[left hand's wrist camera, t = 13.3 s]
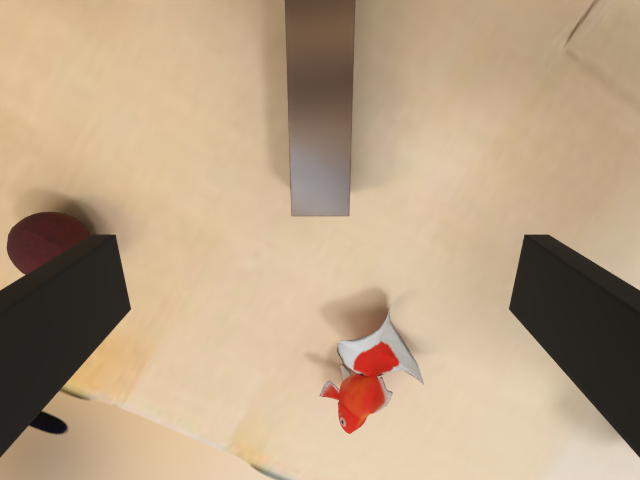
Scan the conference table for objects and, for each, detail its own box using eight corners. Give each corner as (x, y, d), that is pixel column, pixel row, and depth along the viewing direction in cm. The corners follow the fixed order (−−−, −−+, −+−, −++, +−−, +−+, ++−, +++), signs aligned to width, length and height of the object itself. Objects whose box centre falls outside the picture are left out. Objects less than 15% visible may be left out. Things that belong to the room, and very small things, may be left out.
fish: (278, 393, 44) (322, 447, 36) (343, 277, 46) (400, 303, 38) (339, 415, 50) (390, 466, 41) (395, 311, 52) (454, 340, 43)
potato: (51, 191, 40) (-2, 209, 34) (120, 227, 42) (82, 252, 35) (30, 245, 42) (-23, 272, 36) (96, 278, 44) (57, 310, 37)
